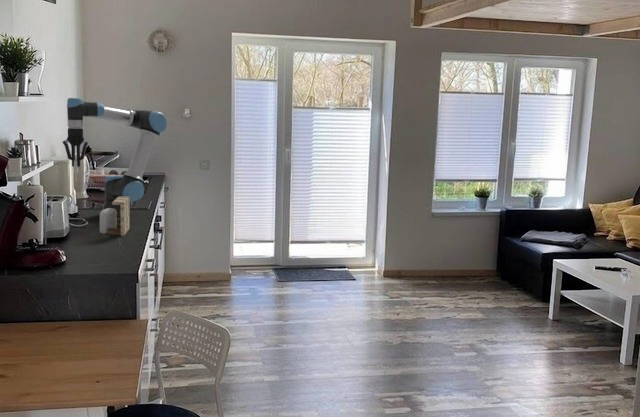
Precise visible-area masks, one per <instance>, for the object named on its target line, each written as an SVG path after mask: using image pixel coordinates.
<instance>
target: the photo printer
mask: <svg viewBox="0 0 640 417" xmlns="http://www.w3.org/2000/svg"><path fill="white" fill-rule="evenodd" d="M117 221H118V217H117V211H116V210H115V209H113V208H107V209H104V210H101V211H100V212H99V233H100V234H107V229H108V228H117V224H118V222H117Z"/></svg>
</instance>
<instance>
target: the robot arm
mask: <svg viewBox="0 0 640 417" xmlns="http://www.w3.org/2000/svg"><path fill="white" fill-rule="evenodd" d="M66 101H67V102H66V110H67V112H66V114H67V127H68V128H67V137H66V139H65V140H63V141H62V144H63V146H64V148H65V152H66V155H67V159H68V160H70V161H71V166H72V168H73V172H74V174H79V167H80V166H81V161H82V160H84V159H85V156H86V151H87V146H88V145H89V143H90V142H89V141H86V140H85V137H84V117H86V118H87V117H88V118H92V119H99V120H103V121H110V122H115V123H120V124H123V125H125V126H126V127H132V128H135V129H138V131H139V132H140V135H139V138H138V141H137V143H136V147H135V150H134V152H133V155H132V158H131V160H130V164H129V166H128V170H127V171H126V172H125V173H123V175H112V176H111V175H110V176H106V177H105V178H104V204H103V207H102V210H104V209H107V208H113V209H115V210H116V211H117V218H121V206H120V205H112V202H113V201H114V200H115V199H116V198H118V197H119V196H121V197H130V202H137V201H139V200H140V199H141V198H142V197H143V196H144V193H145V187H144V179H143V175H144V172H145V169H146V166H147V163H148V161H149V158H150V155H151V153H152V149H153V146H154V144H155V142H156V139H158V138H160V136H161V135H160V134H161V133H162V132H164V131H166V129H167V126H168V120H167V118H166V115H164V114H163V112H160V111H158V110H157V111H156V110H145V109H144V110H137V109H135V110H134V109H126V110H125V109H119V108H115V107H110V106H106V105H105V106H104V104H103V103H102V102H98V101H97V102H96V101H95V102H92V101H91V102H90V101H84V99H83V98H79V97H68V98H67V100H66ZM82 143H83V144H82ZM69 144H70V146H69ZM82 145H83V146H82ZM81 146H82V150H81ZM70 148H71V150H70ZM102 210H101V211H102Z"/></svg>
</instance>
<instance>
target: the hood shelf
mask: <svg viewBox="0 0 640 417" xmlns="http://www.w3.org/2000/svg"><path fill="white" fill-rule="evenodd" d="M130 202H131V201H130V197H121V196H119V197H118V198H116V199H115V200H114V201H113V202H112V205H120V206H121V217H120V223H117V228H108V229H107V233H106V234H107V235H112V236H113V235H116V236H117V235H118V236H119V235H120V237H124V236H125V235H126V234H127V233H128V231H130V228H131V225H130V217H131V216H130V214H131V213H130V211H131V210H130Z"/></svg>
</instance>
